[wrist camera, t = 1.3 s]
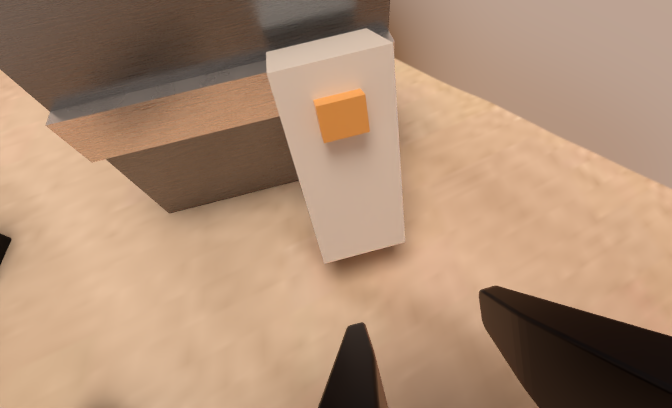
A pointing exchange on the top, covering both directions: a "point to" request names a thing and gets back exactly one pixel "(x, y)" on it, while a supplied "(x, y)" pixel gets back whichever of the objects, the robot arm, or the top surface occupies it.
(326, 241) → the block
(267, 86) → the rail board
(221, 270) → the top surface
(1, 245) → the digital camera
